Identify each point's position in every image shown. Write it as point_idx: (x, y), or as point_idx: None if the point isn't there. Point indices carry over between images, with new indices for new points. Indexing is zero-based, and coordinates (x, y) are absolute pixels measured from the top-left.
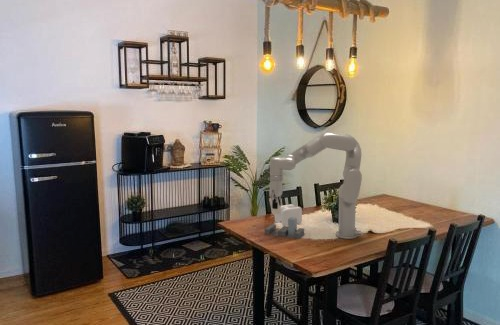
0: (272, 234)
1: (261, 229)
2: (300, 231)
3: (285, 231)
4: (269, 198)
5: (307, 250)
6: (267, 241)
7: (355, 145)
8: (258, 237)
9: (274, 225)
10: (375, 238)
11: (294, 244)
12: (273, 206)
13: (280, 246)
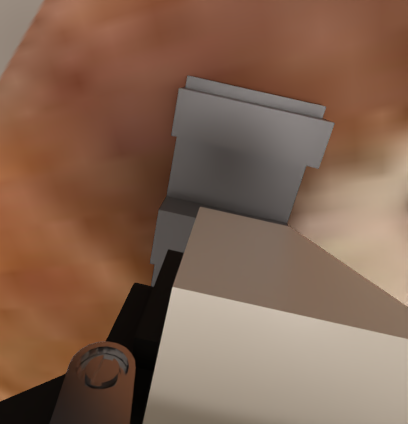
0: (184, 153)
1: (344, 15)
2: None
3: (159, 264)
4: (238, 303)
5: (23, 355)
6: (70, 134)
7: None
8: (130, 41)
9: (300, 159)
10: None
11: (78, 297)
12: (131, 294)
13: (19, 230)
